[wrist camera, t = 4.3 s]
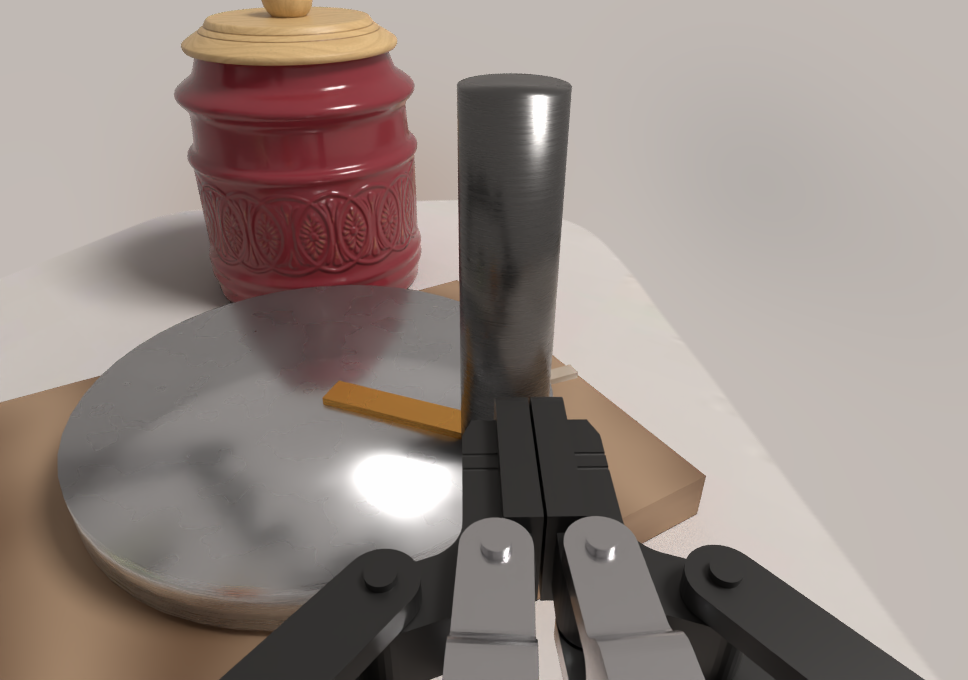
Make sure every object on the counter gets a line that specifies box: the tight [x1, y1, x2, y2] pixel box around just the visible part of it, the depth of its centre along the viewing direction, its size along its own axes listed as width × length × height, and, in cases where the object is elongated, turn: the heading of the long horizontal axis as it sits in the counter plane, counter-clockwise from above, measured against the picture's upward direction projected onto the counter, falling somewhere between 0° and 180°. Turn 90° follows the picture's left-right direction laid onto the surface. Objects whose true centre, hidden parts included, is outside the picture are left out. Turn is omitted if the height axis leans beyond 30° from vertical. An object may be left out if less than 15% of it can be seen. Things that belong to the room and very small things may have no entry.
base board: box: [0, 280, 706, 680], centre depth 28 cm, size 23×19×2 cm
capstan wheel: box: [58, 73, 572, 631], centre depth 24 cm, size 18×18×14 cm
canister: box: [174, 0, 421, 303], centre depth 40 cm, size 13×13×18 cm
